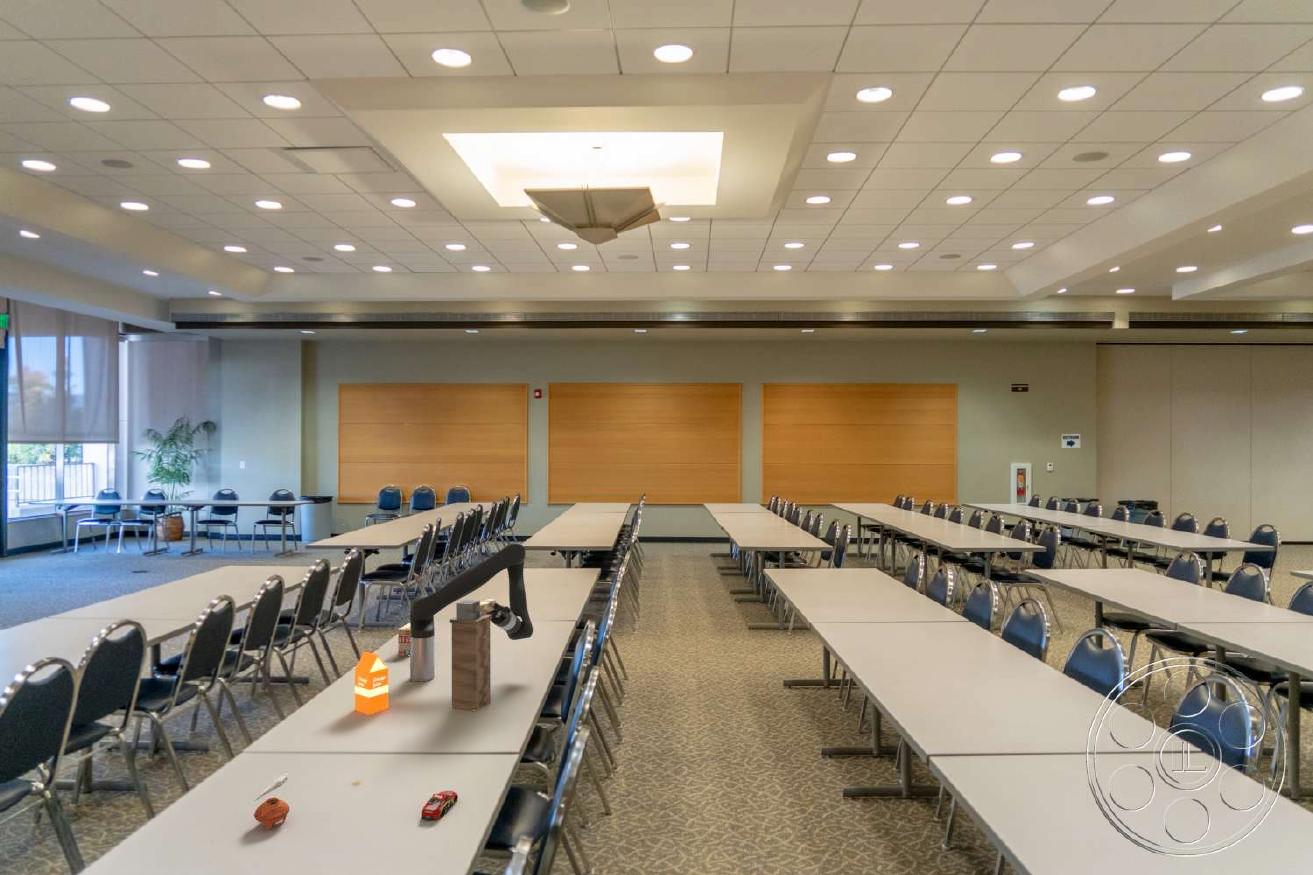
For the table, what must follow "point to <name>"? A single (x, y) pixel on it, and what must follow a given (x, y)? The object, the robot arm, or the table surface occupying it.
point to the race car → (439, 804)
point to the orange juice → (371, 684)
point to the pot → (271, 812)
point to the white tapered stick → (274, 784)
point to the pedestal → (471, 663)
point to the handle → (473, 609)
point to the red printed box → (405, 640)
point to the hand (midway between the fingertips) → (484, 604)
